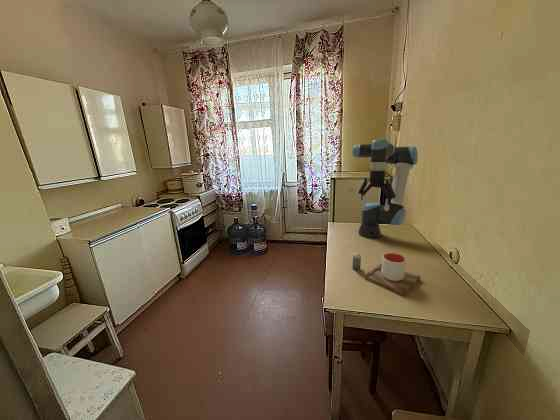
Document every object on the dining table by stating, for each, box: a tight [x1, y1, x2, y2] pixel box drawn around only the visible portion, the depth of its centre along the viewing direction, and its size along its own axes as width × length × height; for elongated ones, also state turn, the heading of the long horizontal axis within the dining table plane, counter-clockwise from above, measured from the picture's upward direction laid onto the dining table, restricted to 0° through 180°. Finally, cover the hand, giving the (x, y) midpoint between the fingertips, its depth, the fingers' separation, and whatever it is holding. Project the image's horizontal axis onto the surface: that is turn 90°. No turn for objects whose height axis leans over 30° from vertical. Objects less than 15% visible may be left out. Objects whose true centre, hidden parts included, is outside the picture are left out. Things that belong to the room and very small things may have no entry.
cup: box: [381, 252, 407, 281], centre depth 107 cm, size 10×10×10 cm
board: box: [364, 263, 422, 297], centre depth 108 cm, size 18×18×2 cm
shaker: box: [351, 252, 362, 272], centre depth 118 cm, size 4×4×9 cm
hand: (374, 208), depth 126 cm, fingers open, 13 cm apart
